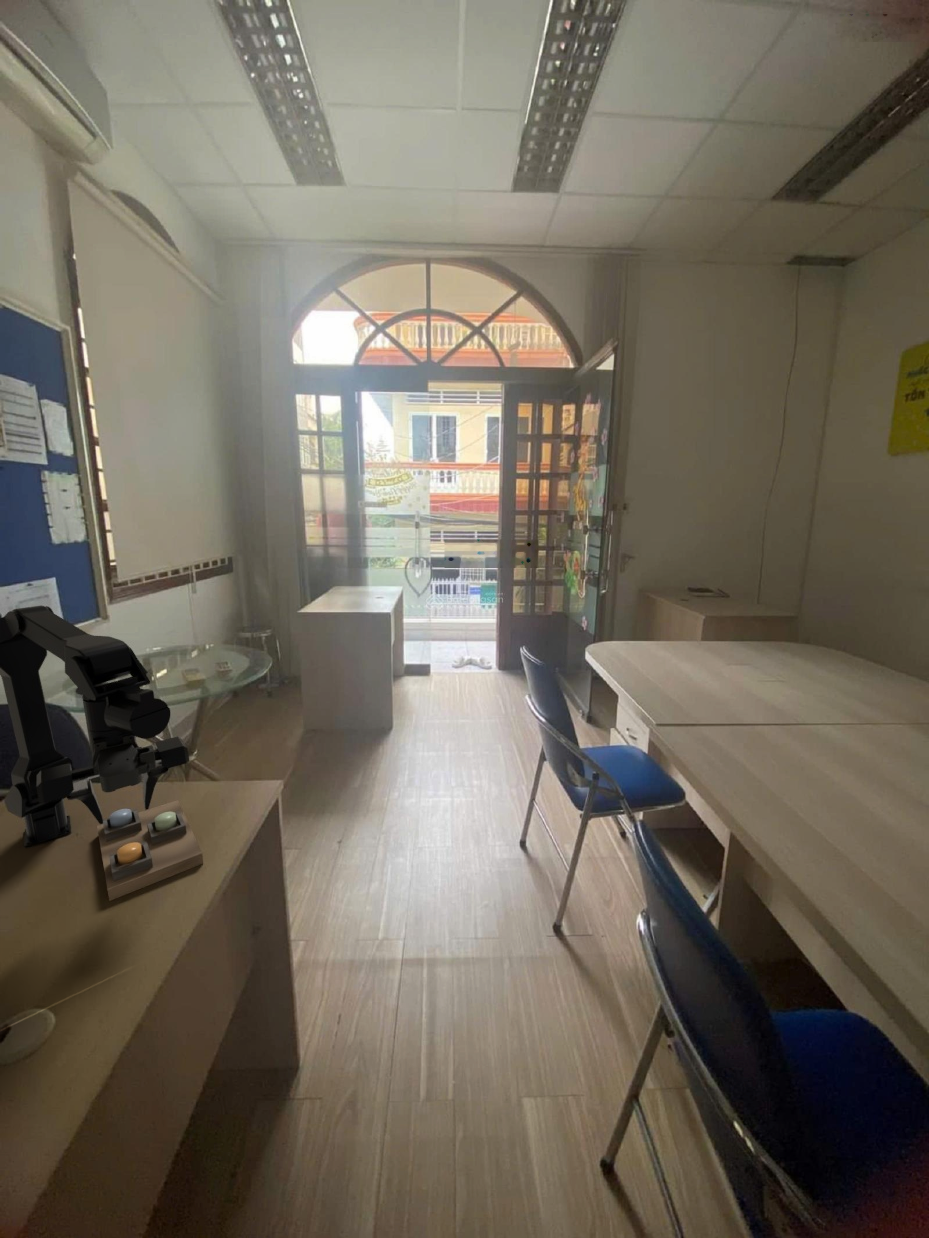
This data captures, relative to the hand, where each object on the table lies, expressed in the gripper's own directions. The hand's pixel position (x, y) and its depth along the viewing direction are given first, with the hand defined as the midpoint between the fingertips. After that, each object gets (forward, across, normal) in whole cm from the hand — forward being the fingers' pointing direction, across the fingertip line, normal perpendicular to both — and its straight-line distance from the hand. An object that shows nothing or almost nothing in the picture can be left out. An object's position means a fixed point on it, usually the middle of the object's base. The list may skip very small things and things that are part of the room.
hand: (124, 815), depth 77 cm
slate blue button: (+8, 0, +12) cm, 14 cm away
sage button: (+8, +6, +6) cm, 11 cm away
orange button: (+8, 0, 0) cm, 8 cm away
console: (+11, +3, +6) cm, 13 cm away
